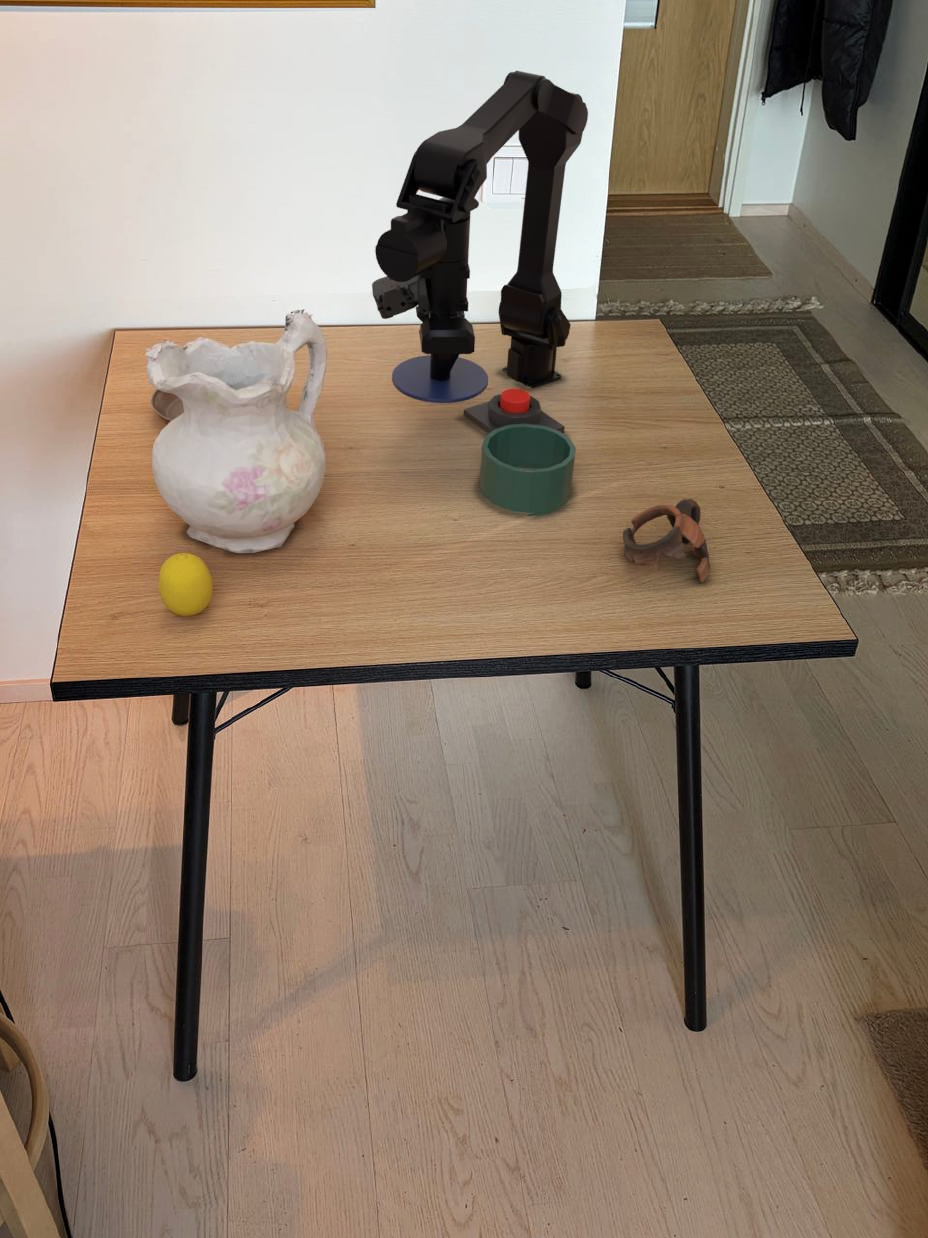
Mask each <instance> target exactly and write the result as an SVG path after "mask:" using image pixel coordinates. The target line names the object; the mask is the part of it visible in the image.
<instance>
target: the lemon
mask: <svg viewBox="0 0 928 1238" xmlns="http://www.w3.org/2000/svg"><path fill="white" fill-rule="evenodd" d="M213 589H214V588H213V579H212V576H211V573H210V570H209V568H208V566H207V564H206V563H205V562H204V560H203V559H202V558H200V557H199V556H197V555H195V554H192V553H188V552H179V553H176V554H173V555H171V556H170V557H168V558H167V559H166V560H165V561H164V562H163V564H162V566H161V568H160V571H159V574H158V592H159V596H160V598H161V601H162V603H163V605H164V606H165V607H166V608H167V609H168V610H169V611H170V612H172V613H174V614H175V615H178V616H180V617H181V616H182V617H191V616H195V615H197V614H199V613H201V612H203V611H204V610H205V609H206V608H207V606H208V605H209V603H210V601H211V599H212V596H213Z"/></svg>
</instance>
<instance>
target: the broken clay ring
mask: <svg viewBox="0 0 928 1238" xmlns="http://www.w3.org/2000/svg"><path fill="white" fill-rule="evenodd" d="M701 513H702V512H701V507H700V505H699V504H698V502H697V501H696V500H694V499H692V498H687V499H682V500H680V501H679V502H678V503H677V504H676V505H675V506H673V505H670V504H659V505H655V506H652V507H649V508H646V509H644V510H643V511H641V512H640V513H638V514H636V515H635V516H634V517H633V518H632V519H631V520H630V522H631V525H632V528H631V527H627V528H626V529H624V531H623V532H622V539H623V543H624V547H623V554H624V557H625V558H626V560H627V561H628V562H630V563H631V564H635V565H638V566H648V567H649V566H650V567H651V568H652V569H654V570H656V571H659V570H660V567H659V566H660V561H661V556H662V554H663V555H664V556H666V557H668V558H673V559H676V560H682V559H685V558H686V557H687V554H686V552H685V550H684V545H689V544H690V545H691V546H693V547H694V557H697V558H699V559H700V560H701V561H700V563H699V564H698V566H697V567H696V568H695V571H696V573H697V575H698V581H699V583H703V582H704V581H705V580H706V579H707V577H708V576H709V573H710V569H711V565H710V555H709V552H708V545H707V541H706V539H705V534H704V533H703V530H702V529H701V526H700V522H701ZM663 516H666V519H667V520H668V521H669V524H670V526H671V530H670V531H669V532H668V533H667V534H666V535H664V536H663V537H661V538H659V539H657V540H656V541H653V542H650V543H644V544H643V543H642V544H641V543H640V544H639V543H637V542H636V539H635V534H636V532H637V531H638V530H639V529H640V528H642V527H643V526H644V525H645V524H647V523H649V522H650V521H653V520H654V519H657V518H660V517H663Z"/></svg>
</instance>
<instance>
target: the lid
mask: <svg viewBox="0 0 928 1238" xmlns="http://www.w3.org/2000/svg"><path fill="white" fill-rule="evenodd" d="M391 382H392V385H393V386H394V388H395V389H396V390H397V391H398V392H399V393H401V394H403V395H404V396H406V397H409V398H411V399H414V400H417V401H421V402H424V403H425V402H426V403H432V404H453V403H454V404H455V403H460V402H465V401H469V400H471V399H474V398H476V397H478V396H479V395H481V394H482V393H484V392H485V390H486V389H487V387H488V383H489V376H488V373H487V371H486V370H485V369H484V368H483V367H482V366H481V365H479V364H478V363H476V362H474V361H472V360H469V359H467V358H463V357H460V356H459V357H458V358H457V360H456V362H455V364H454V366H453V367H452V369H451V371H450V373H449V375H448V377H447V378H446V380H437V376H436V370H435V365H434V359H433V354H424V355H420V356H415V357H411V358H408V359H406V360H404V361H402V362H400V363H398V364H397V365H396V367H394V369H393V370H392V373H391Z"/></svg>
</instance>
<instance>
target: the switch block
mask: <svg viewBox="0 0 928 1238" xmlns="http://www.w3.org/2000/svg"><path fill="white" fill-rule="evenodd" d="M500 397H501V393H498V394H496V395H494V396H493V397H492V398H490V400H489V401H485V402H482V403H479V404H476V405H474V406H469V407H467V408H464V409H463V414H462V415H463V417H465V418H466V419H467V420H469V422H471V423H472V424H474V425H476V426H477V427H479V428H480V429H481V430H483V431H484V432H485V433H487V435H488V434H489V433H491V432H492V431H493V430H495V429H498V428H501V427H504V426H507V425H513V424H533V425H542V426H546V427H549V428H552V429H555V430H557V431H560V432H561V433H563V434H564V433H565V425H564V424H562V423H561V422H559V421H557V419H554V418H553V417H551V416H550V415H549V414H547V413H545V412H544V411H543V410H542V407H541V403H540V401H539V400H538V399H537V398H535V397H533V396H532V395H530V407H529V410H528V411H526V412H523V413H510V412H507V411H504V410H502V409H501V408H500Z"/></svg>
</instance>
